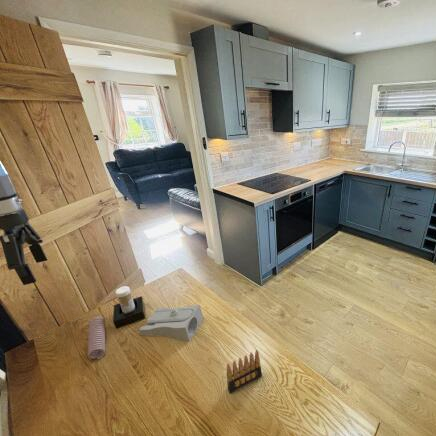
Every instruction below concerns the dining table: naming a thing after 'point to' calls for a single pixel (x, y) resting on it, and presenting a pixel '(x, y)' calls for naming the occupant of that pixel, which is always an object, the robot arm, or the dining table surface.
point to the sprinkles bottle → (125, 299)
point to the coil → (96, 338)
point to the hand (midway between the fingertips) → (36, 271)
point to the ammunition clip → (241, 378)
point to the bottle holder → (129, 314)
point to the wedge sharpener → (174, 322)
